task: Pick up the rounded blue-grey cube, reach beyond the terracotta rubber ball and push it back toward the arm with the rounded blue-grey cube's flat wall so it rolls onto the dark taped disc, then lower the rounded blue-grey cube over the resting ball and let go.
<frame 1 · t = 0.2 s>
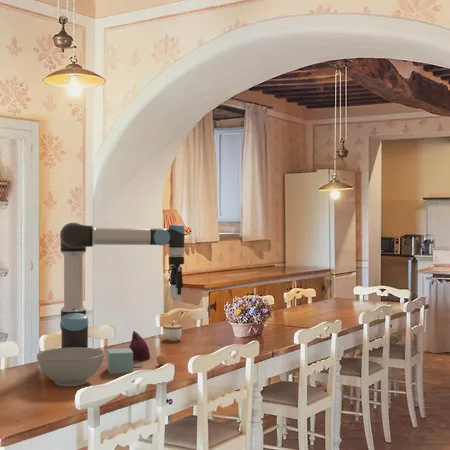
hand: (176, 299, 335), 28 cm above the table, tool pointing down, fingers open, 13 cm apart
lidded jar: (172, 340, 382), on the table
rounded blue-grey cube: (119, 370, 303), on the table
vegetable: (139, 358, 331), on the table
decorative bowl: (70, 383, 280), on the table
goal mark: (135, 366, 312), on the table
ball: (162, 359, 315), on the table
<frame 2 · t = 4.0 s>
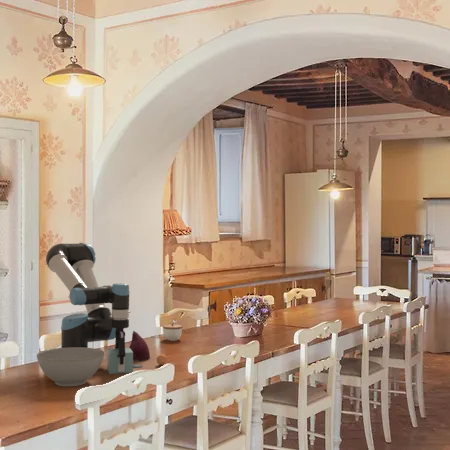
hand: (119, 368, 303), 1 cm above the table, tool pointing down, fingers closed on rounded blue-grey cube, 10 cm apart
rounded blue-grey cube: (119, 370, 303), on the table, touching gripper
everything else where it was.
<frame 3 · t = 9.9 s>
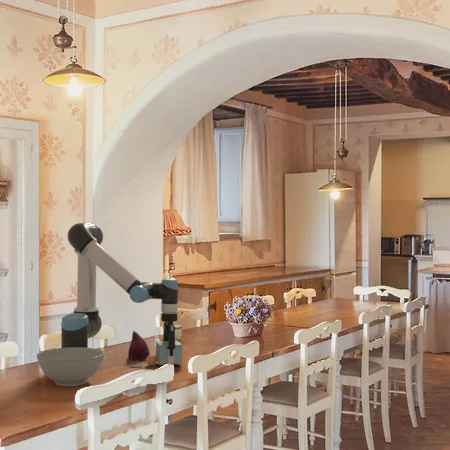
hand: (168, 360, 316), 2 cm above the table, tool pointing down, fingers closed on rounded blue-grey cube, 10 cm apart
rounded blue-grey cube: (168, 362, 316), point 1 cm above the table, touching gripper
ball: (151, 360, 314), on the table
everything else where it was.
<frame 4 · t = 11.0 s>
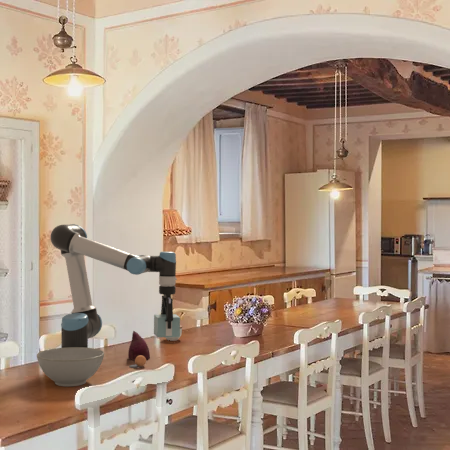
hand: (166, 333, 316), 14 cm above the table, tool pointing down, fingers closed on rounded blue-grey cube, 10 cm apart
rounded blue-grey cube: (166, 335, 316), point 14 cm above the table, touching gripper
ball: (140, 360, 313), on the table
everything else where it was.
when the fingers open (1 cm above the table, at t = 16.1 s): rounded blue-grey cube stays where it is, on the table.
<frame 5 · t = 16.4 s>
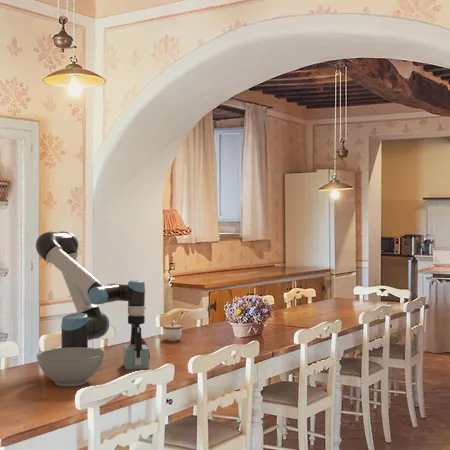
hand: (135, 361, 312), 2 cm above the table, tool pointing down, fingers open, 13 cm apart
rounded blue-grey cube: (135, 366, 312), on the table
everything else where it was.
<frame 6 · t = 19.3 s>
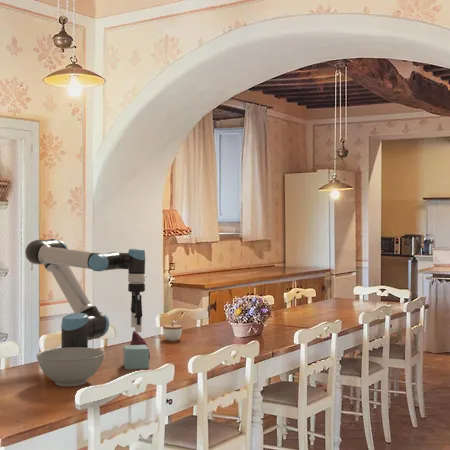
hand: (136, 329, 312), 17 cm above the table, tool pointing down, fingers open, 13 cm apart
nothing on the table moved.
at the end: ball 2.0 cm from the rounded blue-grey cube (horizontally); rounded blue-grey cube on the table; ball moved 10.0 cm from its start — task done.
